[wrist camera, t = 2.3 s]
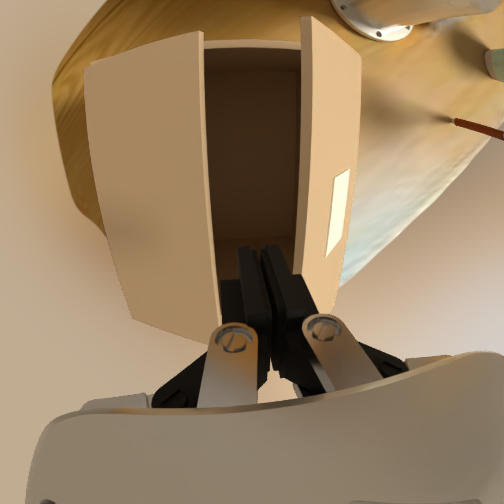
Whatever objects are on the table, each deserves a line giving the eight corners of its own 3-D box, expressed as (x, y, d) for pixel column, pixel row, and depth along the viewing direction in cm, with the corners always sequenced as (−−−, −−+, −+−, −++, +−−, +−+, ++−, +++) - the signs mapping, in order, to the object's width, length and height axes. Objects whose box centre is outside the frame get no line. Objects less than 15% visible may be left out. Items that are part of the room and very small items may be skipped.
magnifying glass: (436, 101, 28) (549, 131, 11) (442, 95, 28) (553, 122, 11) (459, 144, 32) (557, 190, 15) (464, 138, 31) (561, 181, 14)
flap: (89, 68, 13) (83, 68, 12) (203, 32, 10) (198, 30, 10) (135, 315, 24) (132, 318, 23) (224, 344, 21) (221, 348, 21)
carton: (142, 76, 25) (90, 62, 13) (300, 68, 26) (352, 50, 14) (161, 245, 36) (137, 317, 24) (294, 237, 37) (328, 305, 25)
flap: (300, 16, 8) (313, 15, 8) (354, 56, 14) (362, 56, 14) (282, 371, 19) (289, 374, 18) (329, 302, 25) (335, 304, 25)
